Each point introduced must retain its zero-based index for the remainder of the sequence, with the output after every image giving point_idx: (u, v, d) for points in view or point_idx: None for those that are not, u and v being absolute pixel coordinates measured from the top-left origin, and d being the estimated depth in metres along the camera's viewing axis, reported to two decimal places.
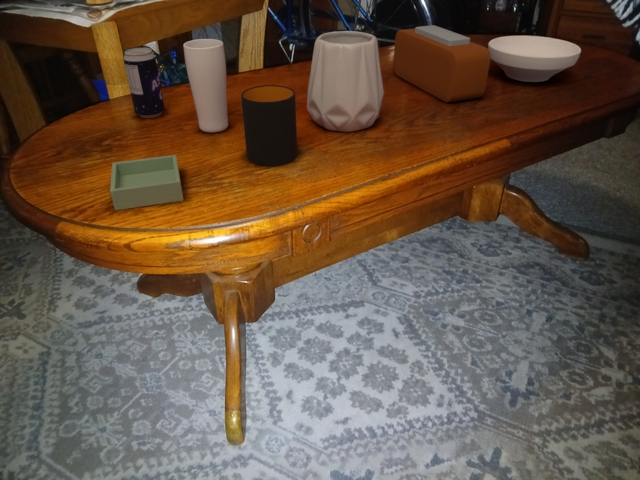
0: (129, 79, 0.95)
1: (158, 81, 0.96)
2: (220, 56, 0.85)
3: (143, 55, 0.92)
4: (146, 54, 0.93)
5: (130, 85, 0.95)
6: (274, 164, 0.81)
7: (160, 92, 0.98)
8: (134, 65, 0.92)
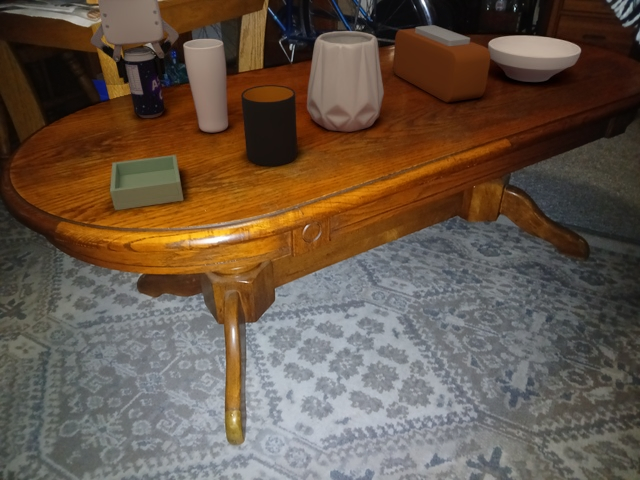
0: (129, 79, 0.95)
1: (158, 81, 0.96)
2: (220, 56, 0.85)
3: (143, 55, 0.92)
4: (146, 54, 0.93)
5: (130, 85, 0.95)
6: (274, 164, 0.81)
7: (160, 92, 0.98)
8: (134, 65, 0.92)
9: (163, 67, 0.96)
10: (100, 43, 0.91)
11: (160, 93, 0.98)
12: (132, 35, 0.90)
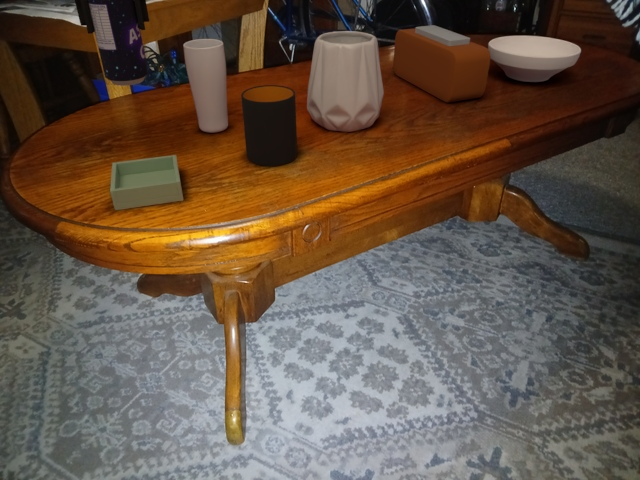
0: (95, 27, 0.65)
1: (138, 31, 0.67)
2: (220, 56, 0.85)
3: None
4: None
5: (97, 36, 0.66)
6: (274, 164, 0.81)
7: (141, 48, 0.68)
8: (102, 5, 0.63)
9: (145, 11, 0.66)
10: None
11: (141, 49, 0.68)
12: None
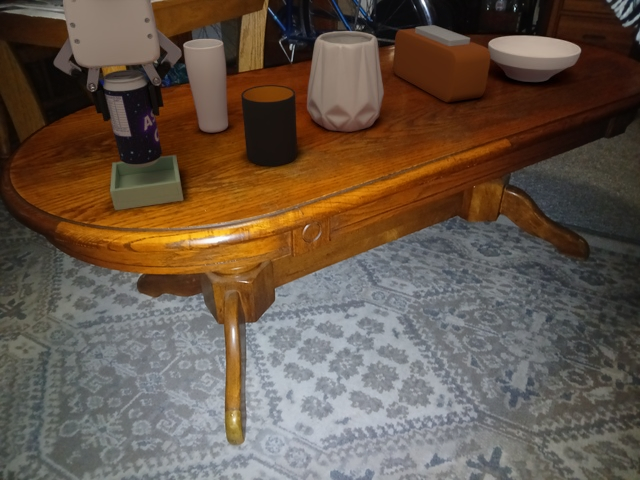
0: (111, 115, 0.66)
1: (153, 117, 0.68)
2: (220, 56, 0.85)
3: (131, 82, 0.64)
4: (135, 80, 0.64)
5: (113, 123, 0.67)
6: (274, 164, 0.81)
7: (155, 132, 0.69)
8: (118, 96, 0.64)
9: (160, 98, 0.67)
10: (68, 65, 0.62)
11: (155, 133, 0.69)
12: (114, 54, 0.62)
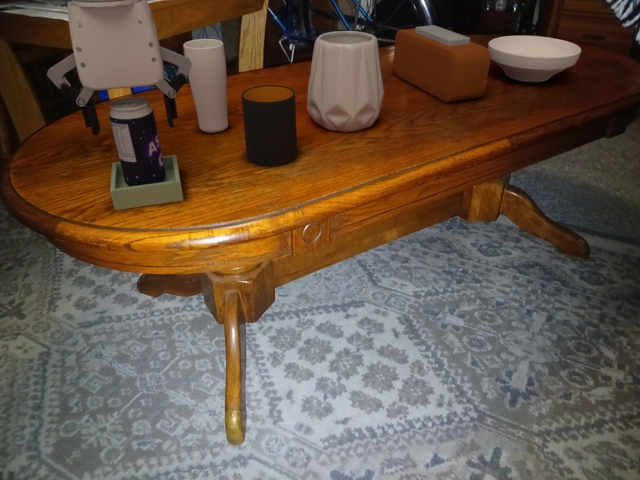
0: (117, 141, 0.68)
1: (157, 143, 0.70)
2: (220, 56, 0.85)
3: (136, 110, 0.66)
4: (140, 109, 0.66)
5: (118, 149, 0.69)
6: (274, 164, 0.81)
7: (160, 157, 0.71)
8: (124, 124, 0.66)
9: (174, 109, 0.69)
10: (60, 79, 0.63)
11: (160, 158, 0.71)
12: (119, 77, 0.63)
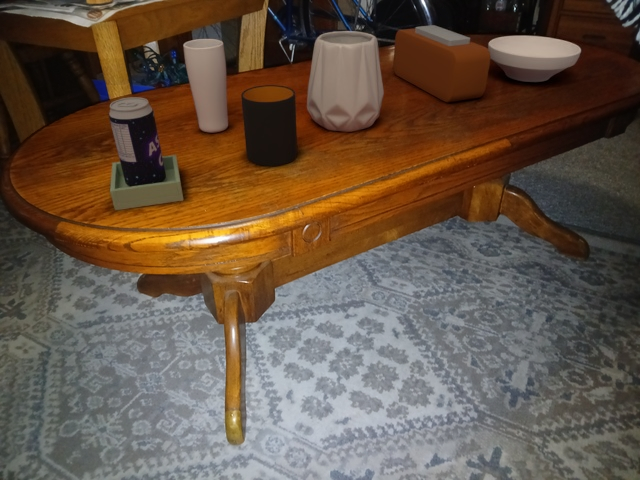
0: (117, 142, 0.68)
1: (157, 143, 0.70)
2: (220, 56, 0.85)
3: (136, 110, 0.66)
4: (140, 109, 0.66)
5: (118, 149, 0.69)
6: (274, 164, 0.81)
7: (160, 157, 0.71)
8: (124, 124, 0.66)
9: None
10: None
11: (160, 158, 0.71)
12: None
